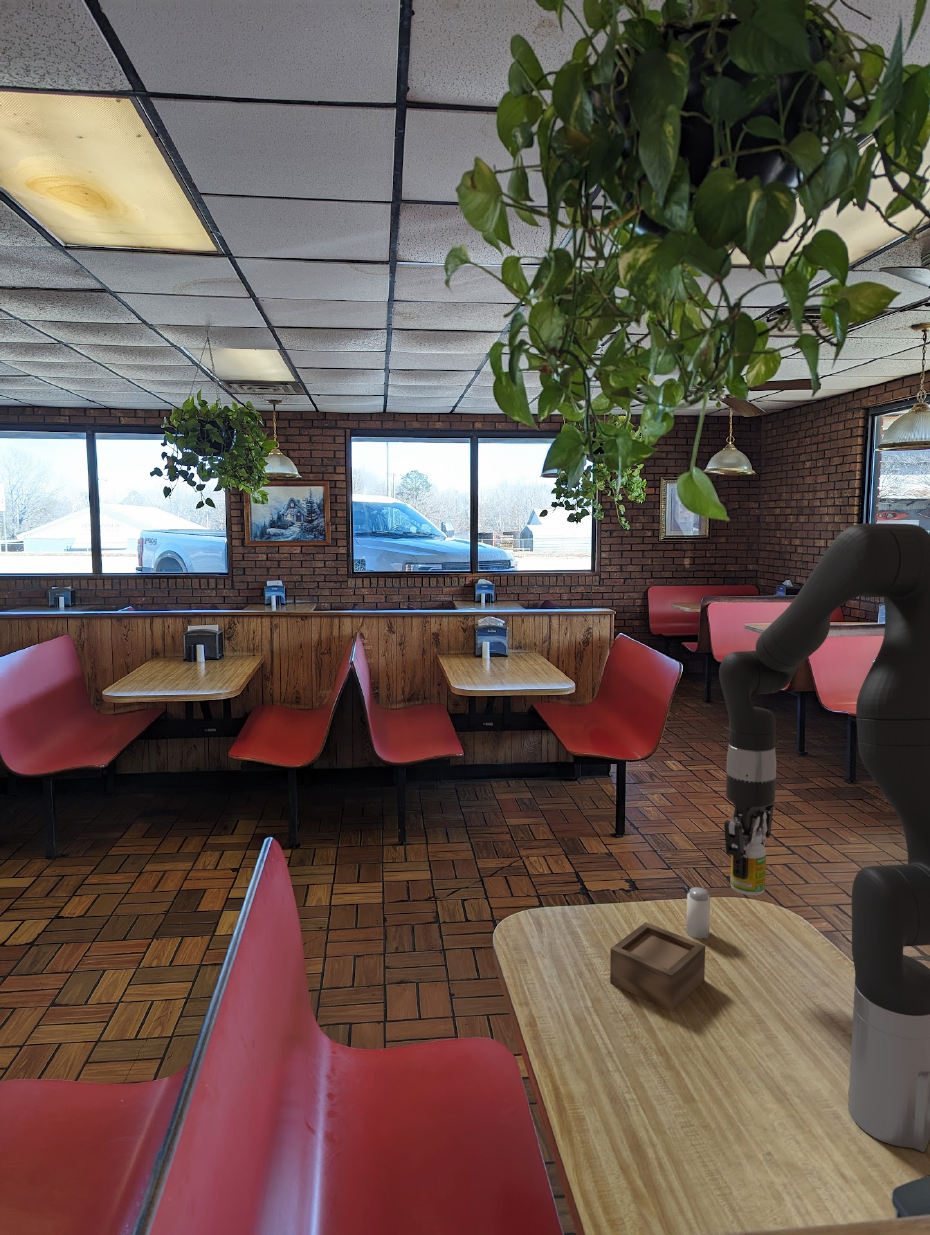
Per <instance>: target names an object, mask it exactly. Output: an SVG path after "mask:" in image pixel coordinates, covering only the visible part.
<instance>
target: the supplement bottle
mask: <svg viewBox="0 0 930 1235" xmlns="http://www.w3.org/2000/svg"><path fill="white" fill-rule="evenodd" d="M743 837H745V838H748V837H749V836H748V835H745V834H743ZM761 842H762V833H761V832H760V831H758V832H756V834H755V840H754V843H753V844H751V845H750V849H749V855H748V877H747V878H746V879H745V880H743V879H740V878H737V877H734V876H733V856H732V855H730V878H729V879H730V881H729V882H730V887H731V889H732V890H734V891H735V892H737V893H739V894H742V895H747V896H758V895H761V894H763V893H764V892H765V890H766V872H767V868H766V866H767V849H766V847H765V845H764V846H763V845H762V844H761ZM744 845H745V843H744V842H743V846H744Z"/></svg>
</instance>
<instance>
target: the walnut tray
mask: <svg viewBox="0 0 930 1235" xmlns="http://www.w3.org/2000/svg"><path fill="white" fill-rule="evenodd" d="M609 956H610V960H609V961H610V964H609V965H610V967H609V970H610V973H609V974H610V976H609V978H610V980H609V983H610V984H612V985H614V986H616V987H618V988H620V989H623V990H625V991H627V992H629V993H631V994H633V995H636V996H638V997H639V998H641V999H643V1000H645V1001H648V1002H650V1003H652V1004H654V1005H656V1006H658V1007H661V1008H662V1009H665V1010H666V1011H668V1012H671V1013H672V1011H674V1010H675V1009H676V1008H678V1006H679V1005H680V1004H681V1003H682V1002H684V1000H685V999H686V998H687V997H688V996H690V994H691V993H693V991H695V990H696V989H697V988H698V986H700V985H701V984H702V983H703V982H704V981H705V972H706V968H705V966H706V945H704V944H701V943H700V942H697V941H695V940H692V939H689V938H687V937H684V936H682V935H679V934H677V933H674V932H672V931H669V930H667V929H664V928H662V927H659V926H657V925H654V924H653V923H649V922H647V921H645V922H644V923H642V924H641V925H640V926H638V927H637V928H636V929H634V930H633V931H631V932H630V933H629V934H628V935H626V936H625V937H624V938H623V939H621V940H619V941H618V942H616V944H615V945H613V946H612V947H610V954H609Z"/></svg>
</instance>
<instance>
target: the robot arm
mask: <svg viewBox="0 0 930 1235" xmlns="http://www.w3.org/2000/svg"><path fill="white" fill-rule="evenodd" d="M858 597H863V598H883V601H884V632H883V633H884V634H883V639H882V643H881V645H880V649H879V651H878V653H877V655H876V657H875V659H874V661H873V662H872V665H871V667H870V668H869V671H868V673H867V675H866V677H865V679H864V680H863V683H862V685H861V688H860V690H859V693H858V696H857V699H856V705H855V706H856V707H855V714H856V716H855V717H856V730H857V731H856V732H857V745H858V752H859V756H860V760H861V761H862V764H863V766H864V768H865V769H866V771H867V773H868V774H869V776H870V777H871V778H872V780H873V782H874V783H875V785H877V787H878V788H879V790H880V791H881V793H882V794H883V795H884V797H885V798H886V799H887V801H888V802H889V804H890V805H891V807H893V810H894V811H895V813H896V814H897V816H898V819H899V821H900V823H901V826H902V829H903V834H904V837H905V838H904V839H905V843H906V849H907V850H906V851H907V863H906V864H887V865H870V866H864V867H863V868H861V869H860V870H858V871H857V873H856V875H855V876H854V880H853V883H852V890H851V954H852V960H853V967H854V973H855V974H854V988H853V989H854V990H853V991H854V993H853V1008H852V1009H853V1010H852V1027H851V1043H850V1044H851V1045H850V1046H851V1047H850V1062H849V1064H850V1066H849V1081H848V1082H849V1083H848V1084H849V1085H848V1095H847V1096H848V1102H847V1105H848V1106H847V1107H848V1111H849V1114H850V1117H851V1118H852V1120H853V1121H854V1122H855V1123H856V1124H857V1125H858V1127H860V1128H861V1129H862V1130H863V1131H864V1132H865V1133H867V1134H868V1135H870V1136H871V1137H873V1138H874V1139H876V1140H879V1141H881V1142H883V1143H886V1144H889V1145H891V1146H894V1147H899V1148H910V1149H915V1150H917V1151H919V1152H922V1153H924V1152H925V1151H926V1150H927V1147H928V1144H929V1143H930V968H929V967H928V966H927V965H925V964H924V963H922V962H920V961H919V960H917V959H915V958H912V957H911V956H908V955H905V954H904V948H905V947H918V946H930V533H929V532H928V531H927V530H926V529H925V528H923V527H922V526H920V525H917V524H912V523H911V524H910V523H888V522H887V523H881V522H880V523H877V522H876V523H873V522H870V523H865V522H864V523H859V524H854V525H851V526H849V527H848V526H847V528H845V529H844V530H843V531H842V532H840V533H839V534H838V535H837V536H836V537H835V539H833V541H832V542H831V543H830V545H829V547H828V548H827V549H826V551H825V552H824V554H823V555H822V557H821V558H820V560H819V561H818V563H817V564H816V566H815V568H814V569H813V571H812V572H811V573H810V575H809V576H808V577H807V579H806V581H804V584H803V586H802V587H801V589H800V590H799V592H798V593H797V594H796V596H795V598H794V599H793V600H792V601H791V603H790V604H789V605H788V607H787V608H786V609H785V610H784V611H783V612H782V613H781V614H780V615H779V616H778V617H777V618H776V619H775V620H774V621H772V622H771V623H770V625H768V626H767V628H765V630H764V631H763V632H762V633H760V635H759V637H758V638H757V640H756V643H755V650H745V651H744V650H743V651H742V650H741V651H732V652H729V653H728V654H726V655H725V656H724V657H723V659H722V660H721V662H720V665H719V669H718V675H719V676H718V678H719V683H720V688H721V690H722V694H723V698H724V701H725V706H726V710H727V716H728V719H729V722H728V723H729V724H728V729H729V730H728V734H729V735H728V748H727V755H726V774H725V775H726V778H725V780H726V782H725V786H726V787H725V790H726V791H725V796H726V798H727V800H728V801H730V802H731V803H732V804H733V805H734V811H733V814H732V819H731V820H725V821H724V826H723V828H724V838H725V840H724V842H725V853H726V855H729V856H731V855H732V856H733V876H734V877H737V878H740V879H743V880H745V879H746V878H747V877H748V855H749V849H750V845H751V844H753V843H754V840H755V834H756V832H758V831H760V832H761V833H762V842H761V844H762V845H763V846H764V847H765V845H766V843H767V839H769V838H770V837H771V836H772V835H771V834H772V833H771V832H772V823H773V816H774V815H773V814H774V807H775V804H774V803H775V801H776V781H777V756H776V755H777V754H776V729H777V728H776V726H777V725H776V722H777V721H776V716H775V714H774V713H773V712H772V711H771V710H769V709H767V708H764V707H758V706H754V705H753V702H752V698H751V697H752V696H753V695H755V696H756V695H766V694H767V695H769V694H775V693H777V692H780V691H782V690H783V689H785V688H786V687H787V686H788V685H789V684H790V682H791V681H792V679H793V676H795V674H796V673H797V672H796V671H797V670H798V667H799V665H800V664H803V662H804V661H805V660H807V659H808V658H809V657H810V656H812V655H813V654H814V653H815V652H816V651H818V650H819V649H820V648H821V647H822V645H823V644H824V643H825V641H826V639H827V637H828V635H829V632H830V627H831V617H832V614H833V613H834V612H835V611H836V610H837V609H839V608H840V607H841V606H843V605H845V604H846V603H847V602H850V601H851V600H854V599H856V598H858ZM743 834H745V835H748V836H749V837H748V838H745V837H743ZM743 842H744V843H745V845H744V846H743Z"/></svg>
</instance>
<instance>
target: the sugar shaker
mask: <svg viewBox="0 0 930 1235" xmlns="http://www.w3.org/2000/svg"><path fill="white" fill-rule="evenodd" d="M686 899H687V900H686V934H687V935H688V934H689V935H688V936H689V937H691V938H693V939H697V938H698V939H699V940H702V938H704V939H707V938H708V937H709V936H710V924H711V923H710V922H711V921H710V919H711V918H710V917H711V896H710V895H709V891H708V889H705V888H703V887H700V886H699V887H698V886H696V887H695V886H694V887H692V888H690V889H689V892H687V896H686ZM698 939H697V940H698Z"/></svg>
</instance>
